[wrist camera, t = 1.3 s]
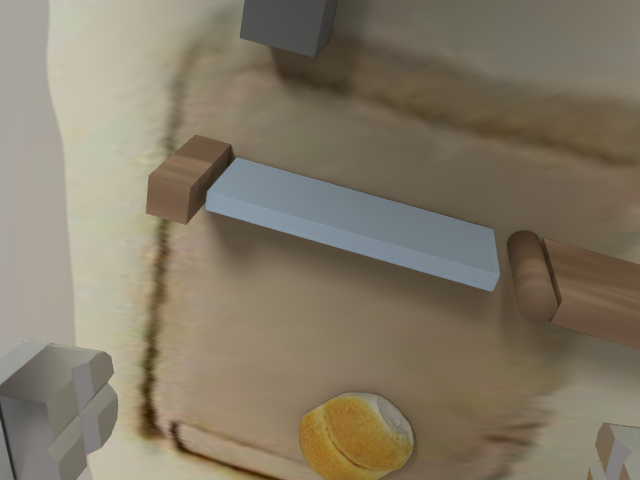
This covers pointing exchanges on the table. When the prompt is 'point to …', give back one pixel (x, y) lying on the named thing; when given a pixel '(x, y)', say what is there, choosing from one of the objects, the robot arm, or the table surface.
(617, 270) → the block
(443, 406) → the table surface
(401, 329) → the table surface
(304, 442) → the bread roll
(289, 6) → the block
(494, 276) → the gate
